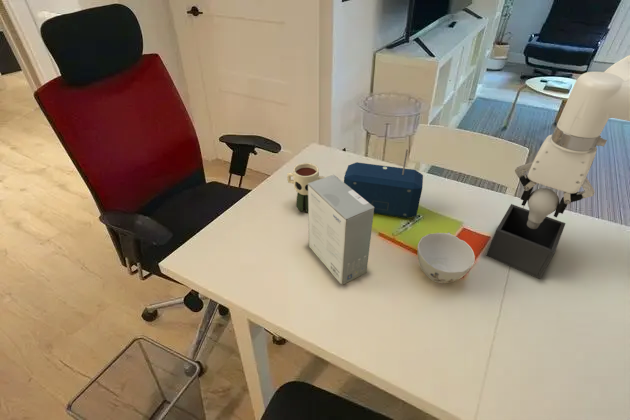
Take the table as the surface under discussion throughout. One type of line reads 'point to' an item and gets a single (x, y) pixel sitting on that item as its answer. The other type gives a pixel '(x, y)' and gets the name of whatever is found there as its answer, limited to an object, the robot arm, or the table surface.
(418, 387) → the table surface
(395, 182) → the radio
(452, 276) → the teacup
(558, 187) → the robot arm
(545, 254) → the bin
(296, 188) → the character mug
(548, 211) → the lightbulb
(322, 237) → the hard drive box
